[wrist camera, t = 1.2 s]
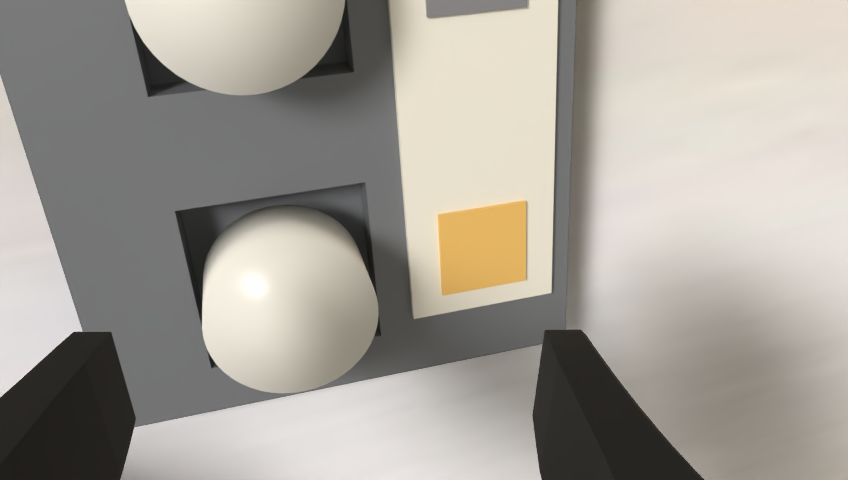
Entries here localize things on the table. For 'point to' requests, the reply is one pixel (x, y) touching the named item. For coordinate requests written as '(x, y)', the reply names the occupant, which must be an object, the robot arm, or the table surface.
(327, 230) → the button
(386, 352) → the button board
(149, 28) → the middle button
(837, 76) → the table surface
